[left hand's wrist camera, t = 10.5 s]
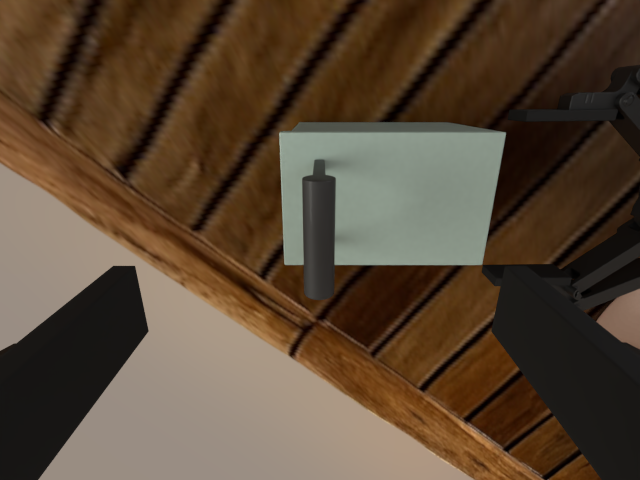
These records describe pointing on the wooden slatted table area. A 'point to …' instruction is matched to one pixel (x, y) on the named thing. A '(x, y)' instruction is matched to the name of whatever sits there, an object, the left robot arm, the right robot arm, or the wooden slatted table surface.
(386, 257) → the lid
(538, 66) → the wooden slatted table surface
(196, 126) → the wooden slatted table surface
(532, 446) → the wooden slatted table surface
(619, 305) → the anatomical model
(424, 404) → the wooden slatted table surface
